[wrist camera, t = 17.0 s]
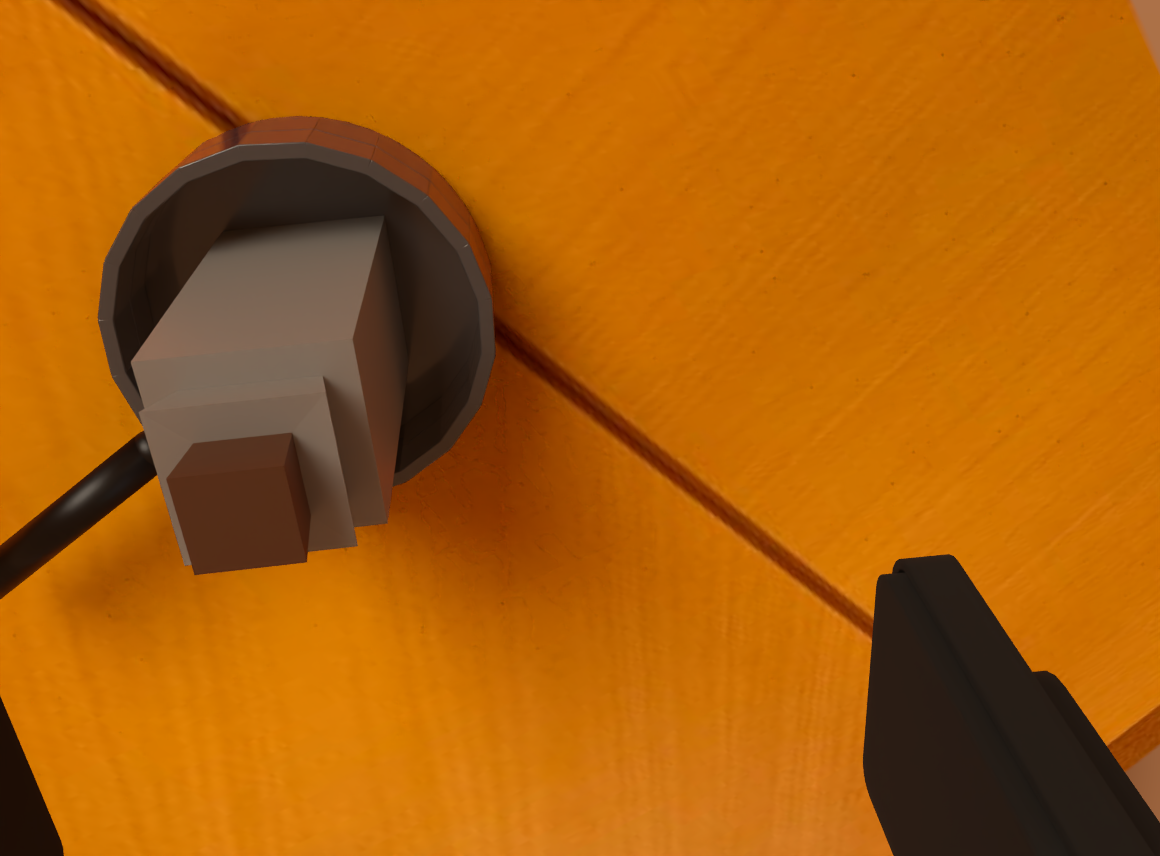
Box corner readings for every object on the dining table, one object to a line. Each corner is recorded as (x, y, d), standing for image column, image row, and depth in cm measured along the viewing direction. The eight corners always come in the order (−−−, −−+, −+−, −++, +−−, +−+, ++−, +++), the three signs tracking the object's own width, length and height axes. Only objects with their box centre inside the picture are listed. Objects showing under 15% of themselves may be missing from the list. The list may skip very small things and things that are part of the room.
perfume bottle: (222, 231, 45) (83, 429, 29) (384, 215, 45) (336, 402, 29) (257, 378, 48) (149, 630, 32) (408, 361, 48) (377, 604, 32)
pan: (324, 35, 42) (306, 54, 38) (561, 316, 48) (570, 361, 44) (57, 269, 45) (12, 312, 41) (312, 504, 52) (297, 563, 47)
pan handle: (156, 414, 45) (145, 433, 44) (189, 442, 46) (178, 463, 44) (-46, 577, 48) (-63, 602, 46) (-12, 602, 49) (-28, 627, 47)
